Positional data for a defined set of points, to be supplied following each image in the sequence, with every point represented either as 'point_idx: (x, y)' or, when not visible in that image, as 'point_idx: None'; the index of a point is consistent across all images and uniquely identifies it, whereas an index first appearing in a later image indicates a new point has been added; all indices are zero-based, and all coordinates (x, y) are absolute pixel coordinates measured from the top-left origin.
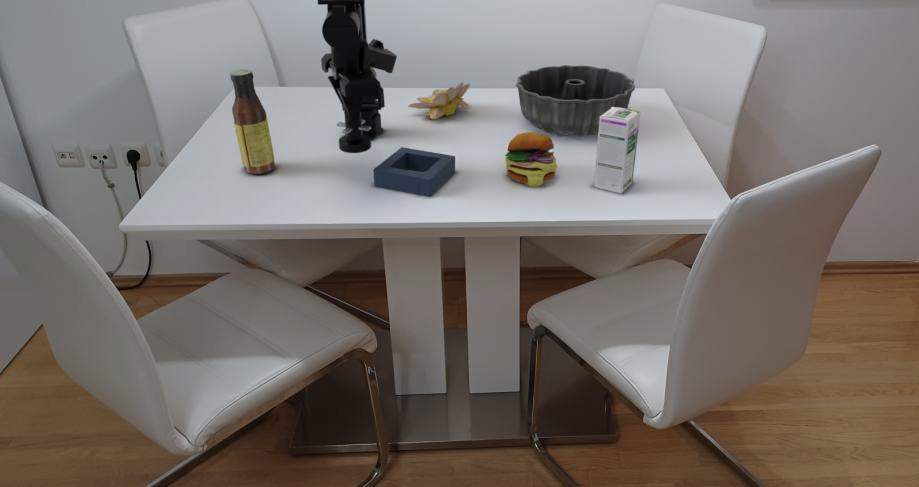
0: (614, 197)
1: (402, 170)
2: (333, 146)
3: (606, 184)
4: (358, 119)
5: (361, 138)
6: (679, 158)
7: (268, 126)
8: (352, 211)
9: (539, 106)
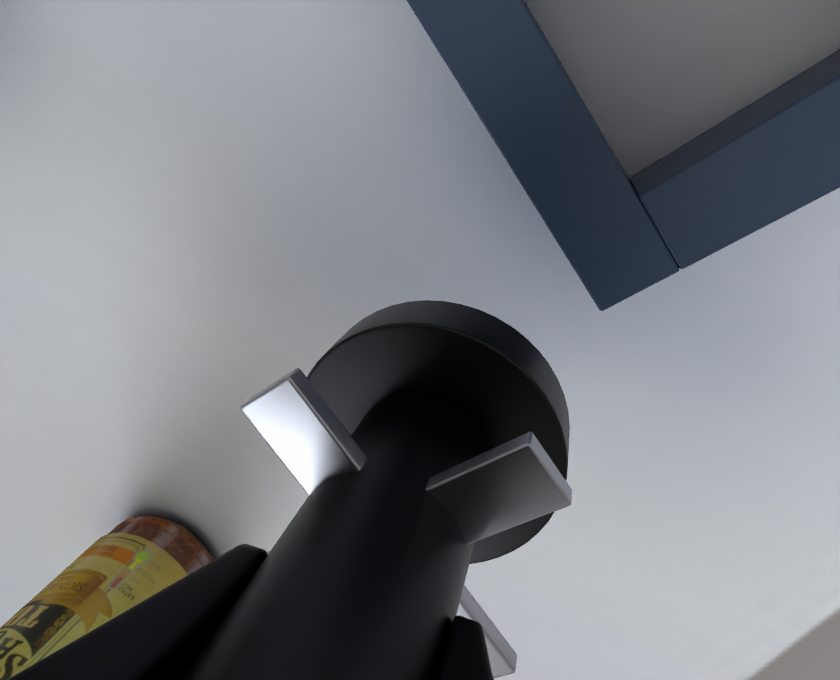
0: None
1: (782, 137)
2: (27, 210)
3: None
4: (485, 652)
5: (477, 438)
6: None
7: (13, 675)
8: (793, 510)
9: None
